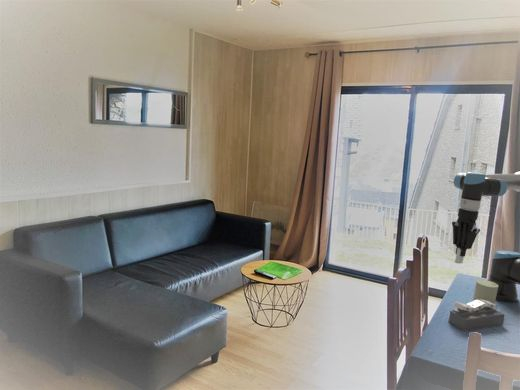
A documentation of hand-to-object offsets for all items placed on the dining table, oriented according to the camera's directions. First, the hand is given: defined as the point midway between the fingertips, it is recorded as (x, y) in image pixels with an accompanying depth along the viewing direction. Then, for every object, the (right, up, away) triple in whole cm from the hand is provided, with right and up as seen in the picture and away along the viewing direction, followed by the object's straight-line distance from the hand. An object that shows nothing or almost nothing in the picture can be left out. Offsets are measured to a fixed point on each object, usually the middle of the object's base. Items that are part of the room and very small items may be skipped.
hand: (458, 262), depth 177 cm
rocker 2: (+6, -18, -2) cm, 19 cm away
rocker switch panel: (+6, -25, -2) cm, 26 cm away
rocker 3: (+13, -18, 0) cm, 22 cm away
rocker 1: (0, -18, -5) cm, 18 cm away
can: (+19, -23, +16) cm, 34 cm away
